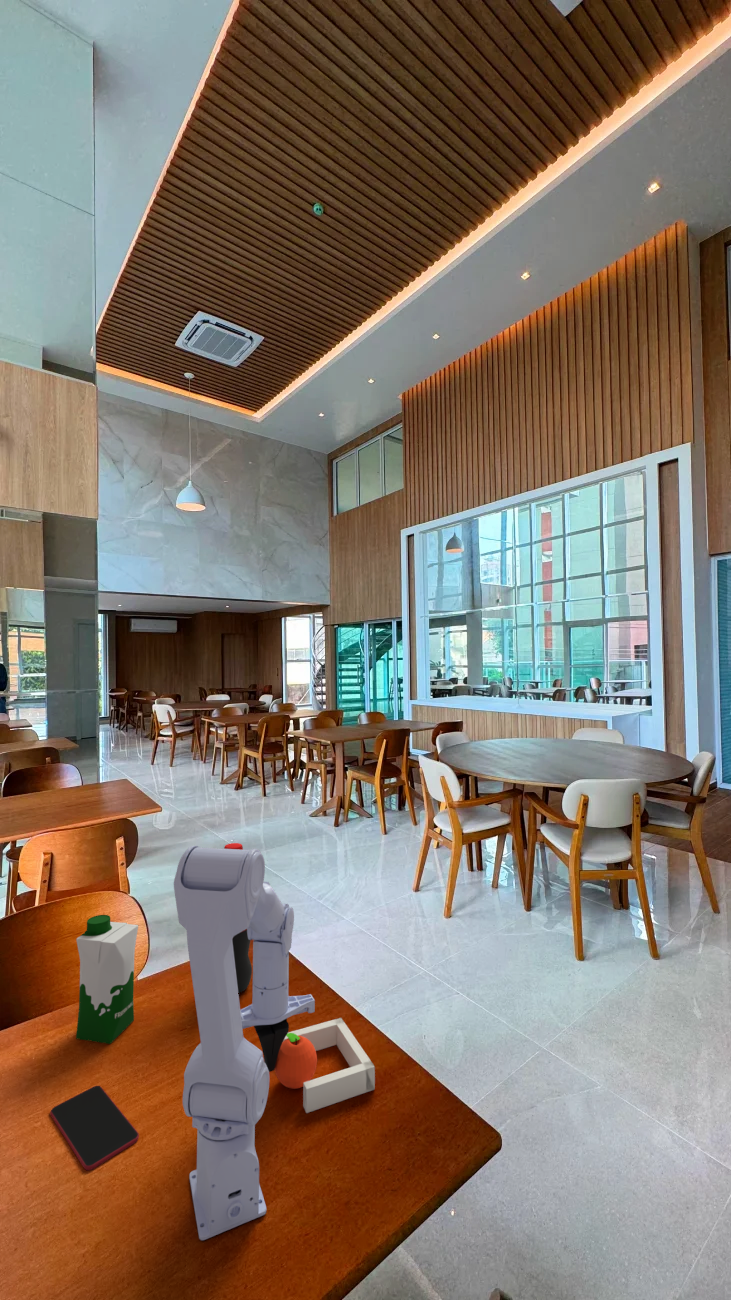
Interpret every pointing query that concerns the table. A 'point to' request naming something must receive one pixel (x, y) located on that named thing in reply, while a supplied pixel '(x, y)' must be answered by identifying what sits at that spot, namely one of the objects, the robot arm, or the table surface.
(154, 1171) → the table surface
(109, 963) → the milk carton
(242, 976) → the cola bottle
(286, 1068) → the clementine
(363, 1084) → the holder
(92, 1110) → the smartphone
